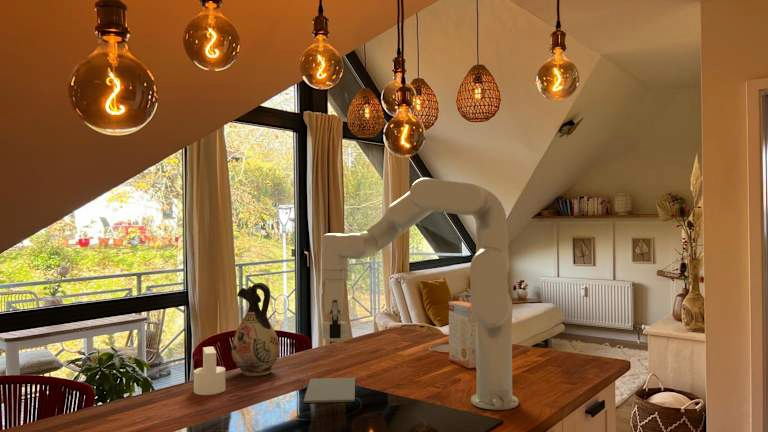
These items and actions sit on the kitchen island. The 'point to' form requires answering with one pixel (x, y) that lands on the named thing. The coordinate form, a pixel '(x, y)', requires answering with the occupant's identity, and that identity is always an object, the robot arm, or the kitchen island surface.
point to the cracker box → (462, 334)
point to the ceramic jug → (255, 335)
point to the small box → (327, 331)
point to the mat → (330, 390)
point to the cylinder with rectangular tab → (209, 375)
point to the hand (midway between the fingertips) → (335, 334)
